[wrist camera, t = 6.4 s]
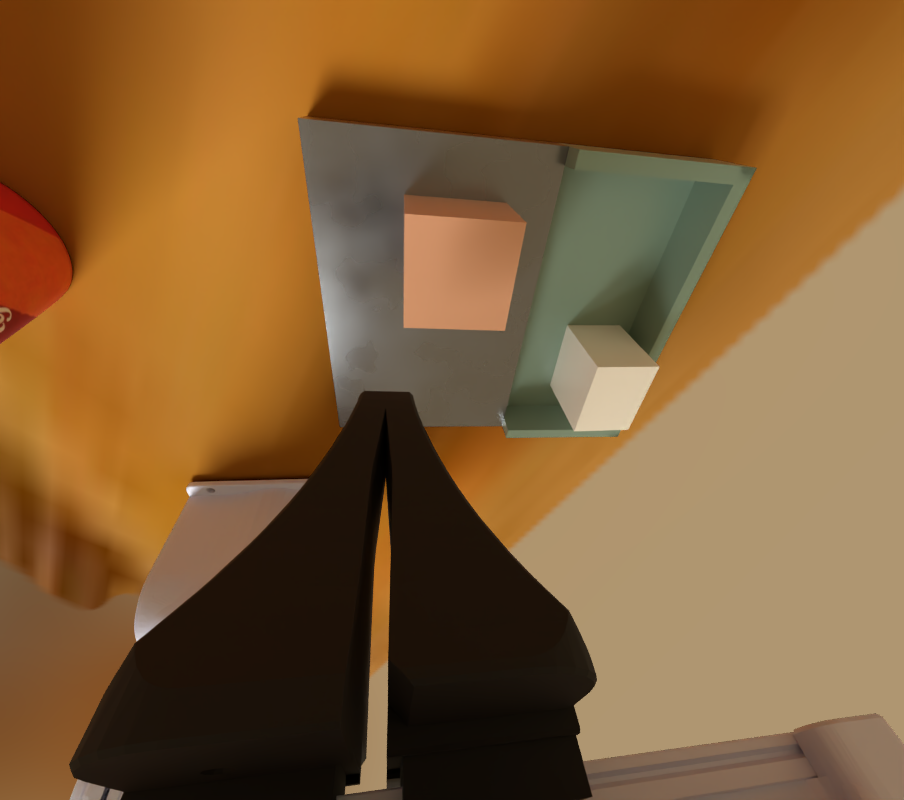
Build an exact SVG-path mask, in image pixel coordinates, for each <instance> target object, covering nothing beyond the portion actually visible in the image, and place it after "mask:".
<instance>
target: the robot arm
mask: <svg viewBox="0 0 904 800" xmlns="http://www.w3.org/2000/svg"><path fill="white" fill-rule="evenodd" d="M385 479H386V486H387V501H388V516H389V530H390V545H391V570H390V611H389V652H388V726H387V789H382V790H375V791H368V792H362V793H353V794H347V795H345V786H351V785H358V784H360V773H361V765H362V764H363V762H364V761H365V759H366V747H367V722H368V720H367V719H368V696H369V672H370V648H371V625H372V602H373V581H374V564H375V553H376V545H377V538H378V530H379V523H380V516H381V509H382V501H383V494H384V486H385ZM186 491H187V492H188V494H189V496H190V497H189V499H188V501H187V503H186V505H185V506H184V508H183V510H182V512H181V514H180V516H179V518H178V520H177V522H176V524H175V525H174V527H173V529H172V531H171V533H170V535H169V537H168V539H167V541H166V542H165V544H164V546H163V548H162V550H161V552H160V554H159V556H158V558H157V559H156V561H155V563H154V565H153V567H152V569H151V571H150V573H149V575H148V577H147V579H146V581H145V583H144V585H143V588H142V591H141V594H140V597H139V601H138V604H137V609H136V614H135V622H134V631H135V637H136V641H137V642H136V643H135V644H134V646H133V647H132V649H131V651H130V652H129V654H128V655H127V657H126V659H125V660H124V662H123V664H122V665H121V667H120V669H119V670H118V672H117V673H116V675H115V676H114V678H113V680H112V681H111V683H110V685H109V686H108V688H107V690H106V692H105V694H104V695H103V698H102V699H101V701H100V703H99V705H98V707H97V709H96V712H95V714H94V716H93V718H92V720H91V722H90V724H89V726H88V728H87V730H86V732H85V734H84V736H83V738H82V740H81V742H80V744H79V746H78V748H77V750H76V752H75V754H74V756H73V758H72V760H71V762H70V764H69V765H70V769H71V772H72V774H73V777H74V778H76V779H78V780H77V783H76V785H75V787H74V790H73V792H72V795H71V798H70V800H904V744H903V742H902V741H901V740H900V738H898V736H897V735H896V733H895V732H894V731H893V729H892V728H891V727H890V726H889V724H888V723H887V722H886V720H885V719H884V718H883V717H882V716H880V715H878V714H876V713H875V714H867V715H860V716H853V717H845V718H838V719H832V720H825V721H821V722H817V723H812V724H809V725H805V726H802V727H800V728H797V729H794V732H790V733H783V734H775V735H769V736H761V737H754V738H747V739H740V740H733V741H726V742H718V743H711V744H704V745H697V746H690V747H682V748H676V749H668V750H661V751H654V752H647V753H640V754H632V755H626V756H618V757H611V758H604V759H597V760H590V761H583V760H582V756H581V752H580V749H579V745H578V741H577V738H576V735H578V734H579V733H580V726H579V723H578V719H577V715H576V712H575V708H574V705H575V704H576V703H577V702H578V701H580V700H581V699H582V698H583V697H584V696H586V695H587V694H588V693H589V692H590V691H591V690H592V689H593V687H594V686H595V684H596V681H597V678H596V673H595V670H594V666H593V663H592V660H591V657H590V655H589V652H588V650H587V647H586V645H585V643H584V641H583V639H582V636H581V634H580V632H579V630H578V628H577V626H576V624H575V622H574V620H573V618H572V616H571V614H570V612H569V610H568V609H567V608H566V607H565V606H564V605H562V604H561V603H560V602H559V601H558V600H557V599H556V598H555V597H554V596H553V595H552V594H551V593H550V592H548V591H547V590H546V589H545V588H544V587H543V586H542V585H541V584H540V583H539V582H538V581H537V580H536V579H535V578H534V577H533V576H532V575H531V574H530V573H529V572H528V571H527V570H526V569H525V568H524V567H523V566H522V565H521V564H520V563H519V562H518V561H517V559H516V558H515V557H514V556H513V555H512V554H511V553H510V552H509V551H508V550H507V549H506V547H505V546H504V545H503V544H502V543H501V542H500V540H499V539H498V538H497V537H496V536H495V535H494V533H493V532H492V531H491V530H490V529H489V528H488V526H487V525H486V524H485V523H484V522H483V521H482V519H481V518H480V517H479V516H478V514H477V513H476V512H475V510H474V509H473V508H472V506H471V505H470V504H469V502H468V501H467V500H466V498H465V497H464V495H463V494H462V493H461V491H460V490H459V488H458V487H457V485H456V484H455V482H454V481H453V479H452V478H451V476H450V475H449V473H448V471H447V470H446V468H445V466H444V465H443V463H442V461H441V459H440V458H439V456H438V454H437V452H436V450H435V449H434V447H433V445H432V443H431V441H430V439H429V437H428V435H427V433H426V430H425V428H424V426H423V424H422V421H421V419H420V416H419V414H418V411H417V408H416V405H415V401H414V397H413V395H412V394H411V393H410V392H396V391H363V392H362V393H361V394H360V396H359V398H358V401H357V403H356V405H355V407H354V409H353V411H352V413H351V415H350V417H349V419H348V421H347V423H346V424H345V426H344V428H343V429H342V431H341V432H340V434H339V436H338V437H337V439H336V441H335V442H334V444H333V445H332V447H331V448H330V450H329V451H328V453H327V454H326V455H325V457H324V458H323V460H322V461H321V462H320V464H319V465H318V467H317V468H316V469H315V471H314V472H313V473H312V475H311V476H310V477H309V479H284V480H246V481H207V482H191V483H189V484H188V486H187V488H186Z"/></svg>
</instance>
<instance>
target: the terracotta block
mask: <svg viewBox="0 0 904 800" xmlns="http://www.w3.org/2000/svg"><path fill="white" fill-rule="evenodd" d="M526 224H527V223H526V222H525V221H524V220H523V219H522V218H521V217H520V216H519V215H518V214H517V213H516V212H515V211H514V210H513V209H512V208H511V207H510V206H509V205H508V204H507V203H503V202H491V201H478V200H466V199H454V198H441V197H429V196H416V195H404V250H403V327H404V328H427V329H460V330H493V331H505V328H506V323H507V318H508V313H509V308H510V303H511V298H512V293H513V288H514V283H515V278H516V273H517V268H518V263H519V258H520V253H521V248H522V243H523V238H524V233H525V228H526Z"/></svg>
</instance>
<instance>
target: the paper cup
mask: <svg viewBox="0 0 904 800" xmlns="http://www.w3.org/2000/svg"><path fill="white" fill-rule="evenodd" d="M72 274H73V271H72V263H71V259H70V256H69V254H68V251H67V249H66V247H65V245H64V243H63V241H62V240H61V238H60V236H59V235H58V234H57V232H56V231H55V229H54V228H53V227H52V226H51V224H50V223H49V222H48V221H47V220H46V219H45V218H44V217H43V216H42V215H41V213H40V212H38V211H37V210H36V209H35V208H34V207H33V206H32V205H31V204H30V203H29V202H27V201H26V200H25V199H24V198H22V197H21V196H20V195H18V194H17V193H16V192H14V191H13V190H11V189H10V188H8V187H7V186H5V185H4V184H2V183H0V344H1V343H2V342H3V341H5V340H6V339H7V338H9V337H10V336H11V335H13V334H14V333H16V332H17V331H18V330H20V329H21V328H22V327H24V326H25V325H26V324H28V323H29V322H30V321H32V320H33V319H34V318H36V317H37V316H38V315H40V314H41V313H42V312H44V311H45V310H46V309H47V308H49V307H50V306H51V305H53V304H54V303H55V302H56V301H57V300H58V299H60V298H61V297H62V296H63V295H64V294H65V292H66V291H67V290H68V288H69V286H70V284H71V281H72Z"/></svg>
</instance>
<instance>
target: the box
mask: <svg viewBox="0 0 904 800" xmlns="http://www.w3.org/2000/svg"><path fill="white" fill-rule="evenodd" d="M559 144H563V145H566V146H569V151H568V155H567V159H566V163H565V167H564V171H563V176H562V180H561V184H560V188H559V192H558V196H557V201H556V205H555V209H554V213H553V217H552V221H551V226H550V230H549V234H548V238H547V242H546V246H545V251H544V255H543V259H542V263H541V267H540V271H539V276H538V280H537V284H536V288H535V292H534V296H533V301H532V305H531V309H530V313H529V317H528V321H527V326H526V330H525V334H524V338H523V342H522V346H521V351H520V355H519V359H518V363H517V367H516V371H515V376H514V380H513V384H512V388H511V392H510V396H509V401H508V405H507V409H506V413H505V417H504V421H503V430H504V433H505V436H506V438H531V437H617V436H618V435H619V433H620V431H621V430H604V431H574V430H573V428H572V427H571V425H570V423H569V421H568V419H567V417H566V415H565V413H564V411H563V409H562V407H561V405H560V403H559V401H558V400H557V398H556V396H555V394H554V392H553V390H552V388H551V386H550V384H551V380H552V377H553V373H554V370H555V366H556V363H557V359H558V356H559V352H560V348H561V345H562V341H563V338H564V334H565V331H566V327H567V325H620V326H621V327H622V328H623V329H624V330H625V331H626V332H627V333H628V334H629V335H630V336H631V338H632V339H633V340H634V341H635V342H636V343H637V344H638V345H639V346H640V347H641V348H642V349H643V350H644V351H645V352H646V353H647V354H648V355H649V356H650V357H651V358H652V359H653V360H654V361H655V363H656V361H657V359H658V357H659V355H660V354H661V352H662V350H663V348H664V346H665V344H666V342H667V340H668V338H669V336H670V334H671V332H672V330H673V328H674V327H675V325H676V323H677V321H678V319H679V317H680V315H681V313H682V311H683V309H684V307H685V305H686V303H687V301H688V300H689V298H690V296H691V294H692V292H693V290H694V288H695V286H696V284H697V282H698V280H699V278H700V276H701V274H702V272H703V271H704V269H705V267H706V265H707V263H708V261H709V259H710V257H711V255H712V253H713V251H714V249H715V247H716V245H717V244H718V242H719V240H720V238H721V236H722V234H723V232H724V230H725V228H726V226H727V224H728V222H729V220H730V218H731V217H732V215H733V213H734V211H735V209H736V207H737V205H738V203H739V201H740V199H741V197H742V195H743V193H744V191H745V190H746V188H747V186H748V184H749V182H750V180H751V178H752V176H753V174H754V172H755V170H756V168H755V167H750V166H745V165H740V164H735V163H730V162H725V161H720V160H715V159H707V158H697V157H688V156H678V155H669V154H659V153H650V152H641V151H631V150H622V149H612V148H603V147H593V146H584V145H574V144H565V143H559Z"/></svg>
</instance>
